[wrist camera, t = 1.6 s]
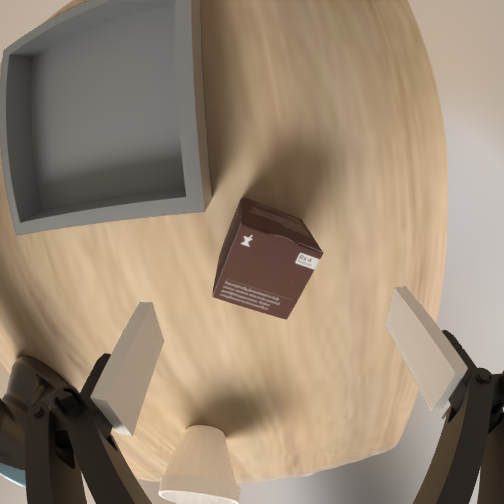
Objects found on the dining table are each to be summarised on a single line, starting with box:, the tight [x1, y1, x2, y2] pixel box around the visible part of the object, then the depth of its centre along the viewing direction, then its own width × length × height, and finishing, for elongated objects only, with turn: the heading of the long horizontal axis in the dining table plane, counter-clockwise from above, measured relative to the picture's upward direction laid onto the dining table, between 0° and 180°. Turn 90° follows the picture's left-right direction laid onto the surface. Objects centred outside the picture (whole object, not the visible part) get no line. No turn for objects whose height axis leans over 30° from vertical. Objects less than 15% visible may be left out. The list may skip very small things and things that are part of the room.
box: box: [212, 198, 323, 319], centre depth 22 cm, size 6×6×7 cm
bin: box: [0, 0, 212, 235], centre depth 18 cm, size 20×20×5 cm
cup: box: [158, 425, 240, 504], centre depth 33 cm, size 12×12×14 cm
